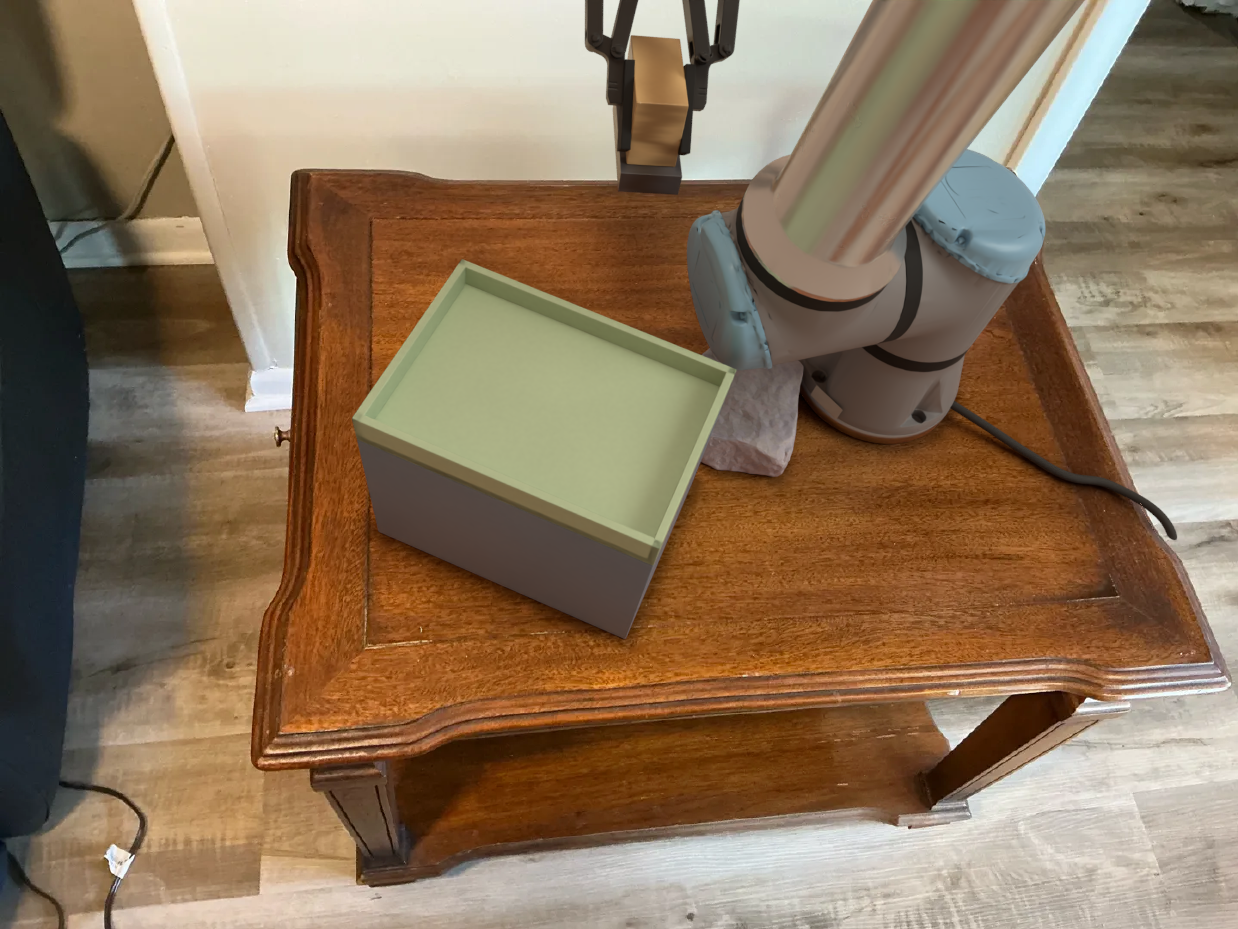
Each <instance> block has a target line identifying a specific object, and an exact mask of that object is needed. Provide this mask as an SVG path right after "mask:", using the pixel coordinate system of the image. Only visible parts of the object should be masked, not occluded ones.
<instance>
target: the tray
mask: <svg viewBox="0 0 1238 929" xmlns="http://www.w3.org/2000/svg"><path fill="white" fill-rule="evenodd" d="M735 373H736V369H734V368H732V367H729V366H727V365H724V364H722V363H719V362H717V361H714V360H712V359H709V358H707V357H704V356H702V354H699V353H697V352H695V351H692V350H689V349H687V348H684V347H682V346H679V345H677V344H674V343H672V342H669V341H667V340H665V339H662V338H660V337H657V336H655V335H652V334H649V333H647V332H645V331H642V330H639V329H637V328H635V327H632V326H631V325H628V324H624V323H622V322H619V321H618V320H615V319H613V318H610V317H607V316H605V315H603V314H600V313H597V312H595V311H592V310H590V309H588V308H585V307H582V306H580V305H578V304H575V303H573V302H570V301H568V300H565V299H562V298H560V297H558V296H555V295H552V294H550V293H548V292H546V291H542V290H540V289H538V288H536V287H532V286H530V285H528V284H525V283H523V282H520V281H518V280H516V279H513V278H511V277H508V276H506V275H503V274H501V273H498V272H495V271H493V270H490V269H488V268H485V267H484V266H480V265H478V264H476V263H473V262H471V261H469V260H465V259H463V258H461V260H459V262H458V264H457V265H456V266H455V268H454V270H453V271H452V272H451V274H450V276H449V277H448V278H447V280H446V281H445V282H444V284H443V286H442V287H441V288H440V290H439V291H438V292H437V293H436V295H435V297H434V299H433V300H432V301H431V303H430V304H429V306H427V308H426V310H425V311H424V313H423V314H422V315H421V317H420V319H419V320H418V321H417V323H416V324H415V326H414V328H412V330H411V331H410V333H409V335H408V336H407V338H406V339H405V340H404V342H403V344H402V345H401V346H400V348H399V349H398V351H397V352H396V353H395V355H394V356H393V358H392V359H391V361H390V362H389V363H388V365H387V366H386V368H385V370H384V371H383V372H382V374H381V375H380V377H379V378H378V380H377V381H376V383H375V384H374V385H373V387H372V388H371V389H370V391H369V393H368V394H367V396H366V397H365V399H364V400H363V401H362V402H361V404H360V406H359V407H358V408H357V410H356V412H355V413H354V414H353V416H352V418H351V421H352V425H353V430H354V433H355V437H356V441H357V440H360V441H362V442H364V443H367V444H369V445H371V446H374V447H376V448H378V449H381V450H383V451H385V452H388V453H390V454H392V455H395V456H397V457H399V458H402V459H404V460H406V461H409V462H411V463H414V464H416V465H418V466H421V467H423V468H425V469H428V470H430V471H432V472H435V473H437V474H439V475H442V476H444V477H446V478H449V479H451V480H453V481H456V482H458V483H460V484H463V485H465V486H467V487H470V488H472V489H474V490H477V491H479V492H481V493H484V494H486V495H488V496H491V497H493V498H495V499H498V500H500V501H502V502H505V503H507V504H510V505H512V506H514V507H517V508H519V509H521V510H524V511H526V512H528V513H531V514H533V515H535V516H538V517H540V518H542V519H545V520H547V521H549V522H552V523H554V524H556V525H559V526H561V527H563V528H566V529H568V530H570V531H573V532H575V533H577V534H580V535H582V536H584V537H587V538H589V539H591V540H594V541H596V542H598V543H601V544H603V545H606V546H608V547H610V548H613V549H615V550H617V551H620V552H622V553H624V554H627V555H629V556H631V557H634V558H636V559H638V560H641V561H643V562H645V563H648V564H650V565H652V566H653V565H654V563H655V561H656V559H657V556H658V554H659V552H660V549H661V547H662V545H663V542H664V540H665V538H666V535H667V533H668V531H669V528H670V526H671V524H672V521H673V519H674V517H675V514H676V512H677V510H678V507H679V505H680V503H681V500H682V498H683V496H684V493H685V491H686V489H687V486H688V484H689V482H690V479H691V477H692V475H693V472H694V470H695V468H696V465H697V463H698V461H699V458H700V456H701V454H702V451H703V449H704V447H705V444H706V442H707V440H708V437H709V435H710V433H711V430H712V428H713V426H714V423H715V421H716V419H717V416H718V414H719V412H720V409H721V407H722V405H723V402H724V400H725V398H726V395H727V393H728V391H729V388H730V386H731V383H732V381H733V378H734V375H735Z"/></svg>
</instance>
